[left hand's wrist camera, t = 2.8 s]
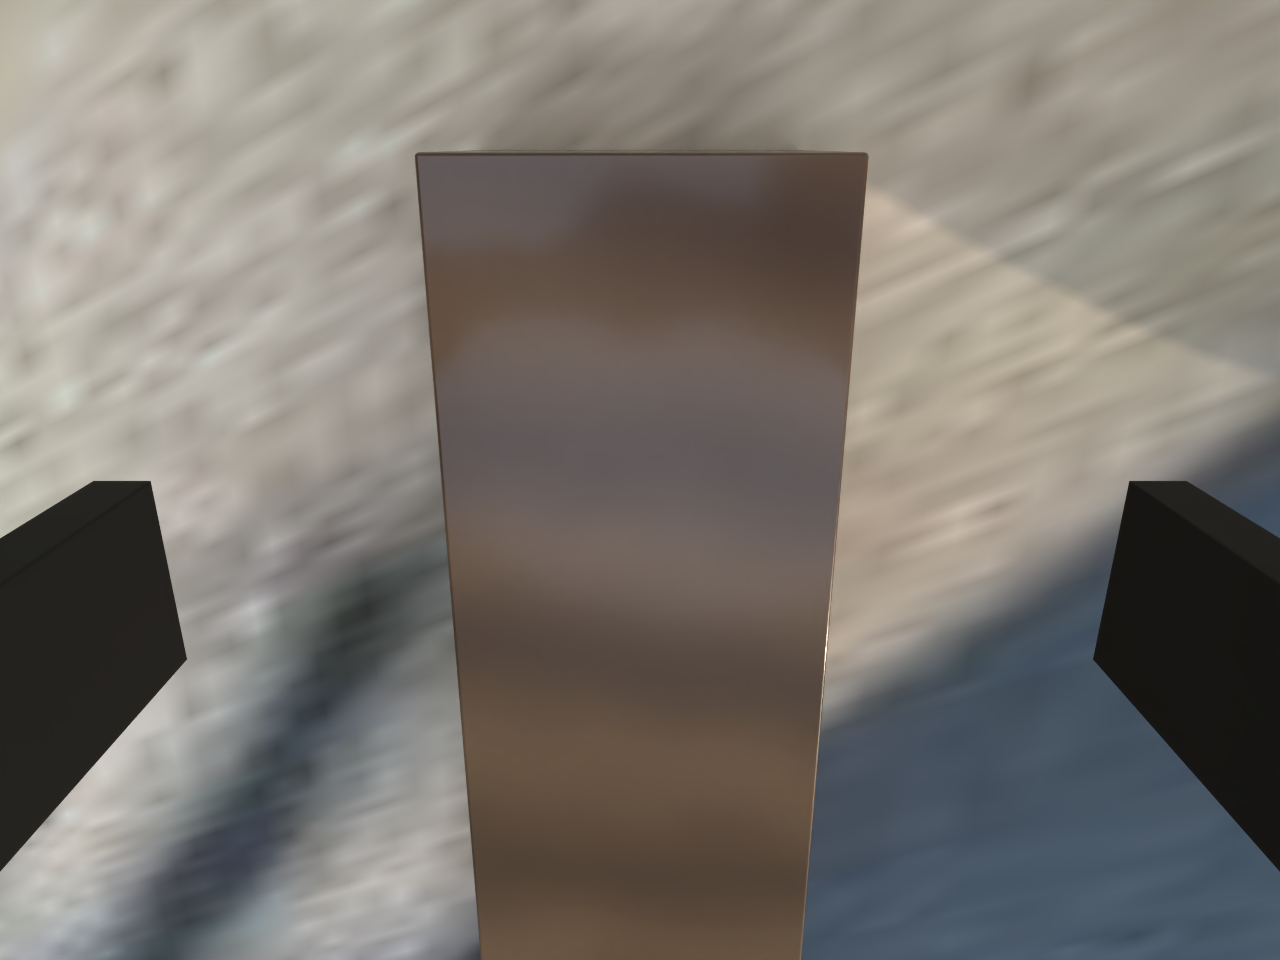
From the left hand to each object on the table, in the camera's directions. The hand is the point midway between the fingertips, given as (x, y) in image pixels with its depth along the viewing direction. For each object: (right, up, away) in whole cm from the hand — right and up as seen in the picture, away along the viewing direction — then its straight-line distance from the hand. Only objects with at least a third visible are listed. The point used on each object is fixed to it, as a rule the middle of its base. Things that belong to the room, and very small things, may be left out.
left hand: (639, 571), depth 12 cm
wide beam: (0, -18, +23) cm, 29 cm away
